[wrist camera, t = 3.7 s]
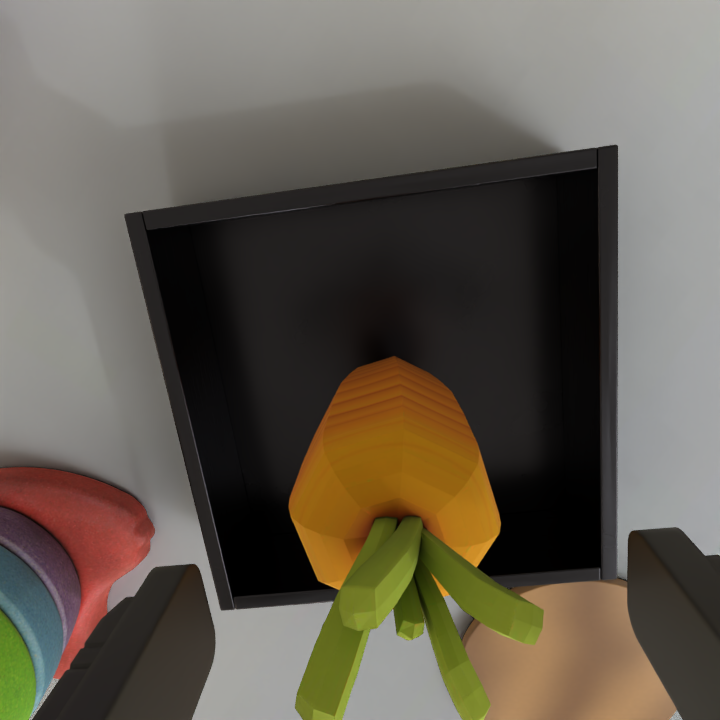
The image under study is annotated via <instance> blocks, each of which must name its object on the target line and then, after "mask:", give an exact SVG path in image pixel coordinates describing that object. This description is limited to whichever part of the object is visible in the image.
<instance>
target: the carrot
mask: <svg viewBox="0 0 720 720" xmlns="http://www.w3.org/2000/svg"><path fill="white" fill-rule="evenodd" d="M289 511H290V515H291V518H292V521H293V523H294V525H295V528H296V530H297V532H298V535H299V537H300V540H301V542H302V544H303V547H304V549H305V551H306V554H307V556H308V558H309V561H310V563H311V565H312V568H313V570H314V572H315V575H316V577H317V579H318V581H320V582H322V583H324V584H326V585H329V586H331V587H333V588H336V589H338V590H339V592H338V594H337V596H336V598H335V600H334V603H333V605H332V607H331V609H330V612H329V614H328V616H327V618H326V621H325V622H324V624H323V626H322V629H321V632H320V634H319V637H318V639H317V641H316V643H315V646H314V649H313V651H312V654H311V657H310V659H309V662H308V665H307V668H306V670H305V673H304V676H303V678H302V681H301V684H300V686H299V689H298V692H297V697H296V704H295V709H296V710H297V711H298V713H299V714H300V716H301V717H302V719H303V720H342V718H343V715H344V712H345V709H346V706H347V703H348V700H349V697H350V693H351V690H352V687H353V685H354V682H355V679H356V676H357V674H358V670H359V667H360V663H361V660H362V656H363V653H364V649H365V646H366V642H367V639H368V636H369V632H370V629H375V628H378V626H379V625H380V624H381V623H382V621H383V620H384V619H385V618H386V616H387V615H388V614H389V613H390V611H391V610H392V609H394V617H395V624H396V632H397V635H398V636H400V637H402V638H404V639H406V640H413V639H414V638H417V637H419V636H420V635H422V634H423V630H424V623H426V627H427V630H428V633H429V637H430V640H431V643H432V647H433V650H434V653H435V656H436V659H437V663H438V666H439V669H440V672H441V675H442V678H443V681H444V683H445V685H446V687H447V690H448V692H449V694H450V696H451V698H452V701H453V703H454V705H455V707H456V709H457V711H458V713H459V714H460V716H461V718H462V720H484V718H485V716H486V714H487V712H488V710H489V708H490V706H491V704H490V701H489V699H488V697H487V695H486V692H485V690H484V688H483V686H482V684H481V682H480V680H479V678H478V676H477V674H476V672H475V670H474V668H473V666H472V664H471V662H470V660H469V658H468V655H467V653H466V650H465V648H464V646H463V643H462V641H461V638H460V636H459V634H458V631H457V629H456V626H455V624H454V622H453V619H452V617H451V614H450V612H449V610H448V607H447V605H446V602H445V600H444V598H443V597H444V596H448V595H450V596H451V597H452V598H453V599H454V600H455V601H456V603H457V604H458V605H459V606H460V607H461V609H462V610H463V611H465V612H466V613H468V614H469V615H471V616H472V617H474V618H475V619H477V620H478V621H479V622H481V623H482V624H484V625H485V626H487V627H488V628H490V629H492V630H493V631H495V632H497V633H498V634H500V635H502V636H505V637H507V638H510V639H513V640H515V641H518V642H521V643H524V644H530V645H535V643H536V641H537V639H538V637H539V635H540V633H541V631H542V628H543V616H544V610H543V609H541V608H540V607H538V606H536V605H534V604H533V603H531V602H529V601H528V600H526V599H524V598H523V597H521V596H520V595H518V594H517V593H515V592H513V591H511V590H509V589H507V588H505V587H503V586H501V585H500V584H498V583H497V582H495V581H494V580H493V579H491V578H490V577H489V576H487V575H486V574H484V573H483V572H482V571H480V570H479V569H478V568H477V566H478V565H479V563H480V562H481V560H482V559H483V557H484V556H485V554H486V553H487V551H488V550H489V548H490V547H491V545H492V544H493V542H494V541H495V539H496V538H497V536H498V535H499V533H500V526H501V521H500V516H499V512H498V509H497V505H496V502H495V499H494V496H493V492H492V489H491V486H490V483H489V479H488V476H487V473H486V470H485V466H484V463H483V460H482V456H481V453H480V450H479V447H478V444H477V441H476V439H475V437H474V435H473V433H472V430H471V428H470V426H469V424H468V422H467V419H466V417H465V415H464V413H463V411H462V409H461V408H460V406H459V404H458V402H457V400H456V399H455V397H454V395H453V393H452V392H451V391H450V390H449V389H448V388H447V387H446V386H445V385H444V384H443V383H442V382H441V381H440V380H438V379H437V378H436V377H434V376H433V375H431V374H430V373H429V372H426V371H424V370H422V369H420V368H418V367H416V366H414V365H412V364H410V363H408V362H406V361H404V360H402V359H400V358H398V357H396V356H392V357H389V358H386V359H383V360H380V361H377V362H373V363H370V364H367V365H364V366H361V367H358V368H356V369H355V370H354V371H352V372H351V373H350V374H349V375H348V376H347V377H346V378H345V379H344V380H343V381H342V383H341V384H340V386H339V388H338V390H337V392H336V394H335V396H334V398H333V399H332V401H331V403H330V405H329V407H328V409H327V411H326V413H325V415H324V417H323V419H322V421H321V423H320V425H319V427H318V429H317V431H316V433H315V435H314V437H313V440H312V442H311V444H310V447H309V449H308V451H307V453H306V456H305V458H304V460H303V463H302V466H301V468H300V471H299V474H298V476H297V479H296V482H295V485H294V487H293V490H292V493H291V495H290V499H289ZM423 617H424V618H423ZM424 620H425V622H424Z"/></svg>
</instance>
